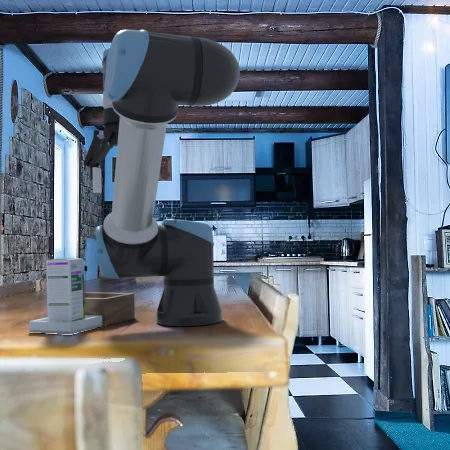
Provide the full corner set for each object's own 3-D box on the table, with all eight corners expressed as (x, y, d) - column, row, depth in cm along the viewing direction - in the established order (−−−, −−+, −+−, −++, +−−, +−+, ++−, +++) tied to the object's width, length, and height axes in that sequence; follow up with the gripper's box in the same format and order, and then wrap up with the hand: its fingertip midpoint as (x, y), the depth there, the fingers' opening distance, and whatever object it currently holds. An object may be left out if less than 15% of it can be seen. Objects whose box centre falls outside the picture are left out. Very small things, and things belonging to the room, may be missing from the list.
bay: (134, 318, 121) (134, 293, 122) (105, 326, 110) (105, 298, 111) (86, 315, 127) (86, 292, 127) (54, 323, 116) (54, 297, 116)
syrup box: (71, 329, 103) (70, 258, 103) (46, 328, 104) (45, 258, 105) (85, 324, 108) (85, 257, 109) (61, 323, 110) (60, 257, 110)
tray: (102, 327, 109) (102, 315, 109) (70, 335, 99) (70, 323, 100) (63, 325, 113) (63, 313, 113) (29, 333, 103) (29, 321, 103)
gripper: (167, 107, 128) (168, 189, 127) (87, 118, 137) (88, 194, 137) (152, 100, 121) (154, 187, 120) (69, 111, 130) (70, 192, 130)
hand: (119, 191), depth 129 cm, fingers open, 13 cm apart
